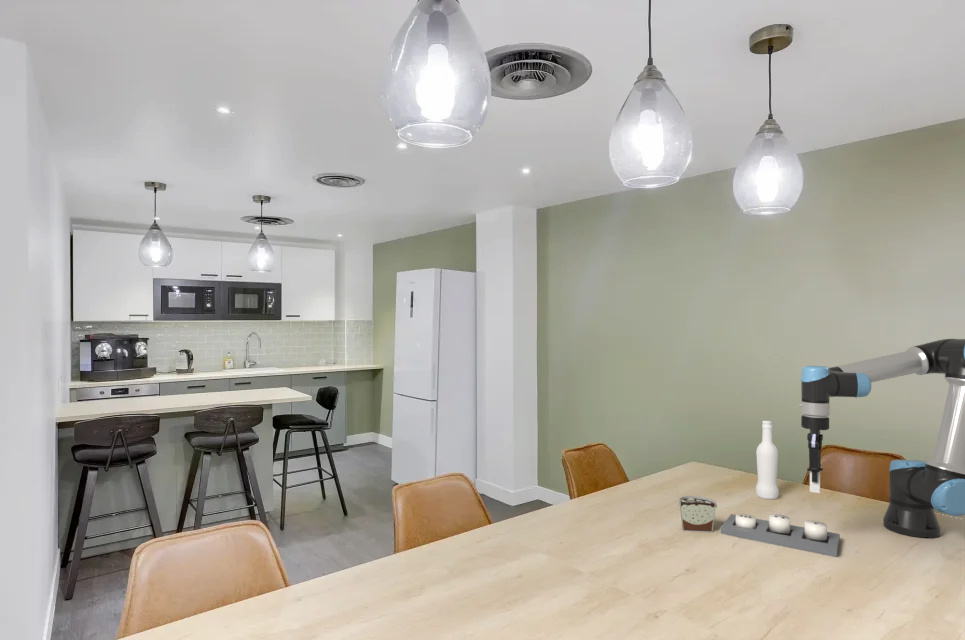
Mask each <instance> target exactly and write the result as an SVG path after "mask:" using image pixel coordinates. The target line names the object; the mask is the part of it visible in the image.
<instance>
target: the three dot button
mask: <svg viewBox="0 0 965 640" xmlns="http://www.w3.org/2000/svg"><path fill="white" fill-rule="evenodd" d="M735 515H736V526H740V527H745V528H750V529H756V519H757V518H756V517H755V516H753V515H751V514H745V513H737V514H735Z"/></svg>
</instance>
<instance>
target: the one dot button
mask: <svg viewBox="0 0 965 640" xmlns="http://www.w3.org/2000/svg"><path fill="white" fill-rule="evenodd" d="M803 527H804V535H805V536H806V537H807V538H810V539H809V540H812V539H813V540H812V541H817V540H826V539H827V532H828V525H827V524H826V523H824V522H822V521H817V520H805V521H804V526H803Z"/></svg>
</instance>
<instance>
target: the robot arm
mask: <svg viewBox="0 0 965 640" xmlns="http://www.w3.org/2000/svg"><path fill="white" fill-rule="evenodd" d="M913 374H915V375H918V376H923V375H930V374H939V375H940V374H943V375H944V379H945V381H946V382H947V383H948V390H947V393H946V394H947V395H946V397H945V398H946V399H945V402H944V403H945V404H944V408H943V413H942V418H941V422H940V426H939V431H938V436H937V441H936V445H935V449H934V453H933V458H932V459H931V460H929V461H927V460H919V459H918V460H917V459H893V460H891V461H890V464H889V471H888V472H889V503H888V504H889V505H888V506H887V509H886V511H885V514H884V516H883V520H882V521H883V524H882V525H883V527H884V528H886V529H888V530H889V531H892V532H895V533H898V534H901V535H904V536H909V537H914V536H915V537H914V538H922V537H929V538H928V539H930V538H931V537H935V538H939V537H940V536H941V526H940V524H939V521H938V518H937V516H936V513H935V510H936V511H937V512H939V513H941V514H946V515H949V516H952V517H953V516H954V517H961V516H965V338H943V339H939V340H938V339H937V340H933V341H931V342H927V343H923V344H919V345H915V346H913V345H912V346H910V347H909V348H907V349H906V350H905V351H902V352H896V353H892V354H888V355H882V356H878V357H874V358H870V359H863V360H860V361H854V362H850V363H847V364H841V365H836V366H833V367H832V366H831V367H828V366H823V365H805V366H803V367H802V368H801V375H800V376H801V379H800V381H801V392H800V393H801V403H799V407H800V408H801V414H802V415H801V418H800V419H801V424H800V425H801V427H802V428H803V429H805V430H807V429H808V430H809V432H808V433H807V434H806V435H807V437H806V438H807V439H806V440H807V441H808V443H807V448H808V456H809V457H808V462H809V465H808V466H809V467H808V468H806V470H807V471H809V492H810V493H815V494H820V493H821V471H824V468H823V467H822V463H821V462H822V461H821V454H822V447H823V439H824V435H823V433H822V434H821V431H828V430H830V418H829V416H830V407H831V405H830V398H834V397H837V398H856V399H857V398H864V397H867V396H869V394H870V393H871V390H872V383H874V382H880V381H885V380H890V379H894V378H898V377H903V376H904V377H905V376H908V375H913ZM938 536H939V537H938ZM931 539H932V538H931Z"/></svg>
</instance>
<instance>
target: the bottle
mask: <svg viewBox="0 0 965 640" xmlns="http://www.w3.org/2000/svg"><path fill="white" fill-rule="evenodd" d="M761 428H762V430H761V431H762V434H761V435H762V437H761V442H759V444H758V446H757V447H756V450H755V454H756V470H757V471H756V472H757V482H756V485H755V495H756V497H758V498H760V499H762V500H763V499H764V500H770V501H771V500H778V498H779V492H780V491H779V487H778V471H779V470H778V469H779V468H778V467H779V457H780V456H779V450H778V448H777V446H776V445H775V444H774V442H773V422H772V421H771V420H762V425H761Z"/></svg>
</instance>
